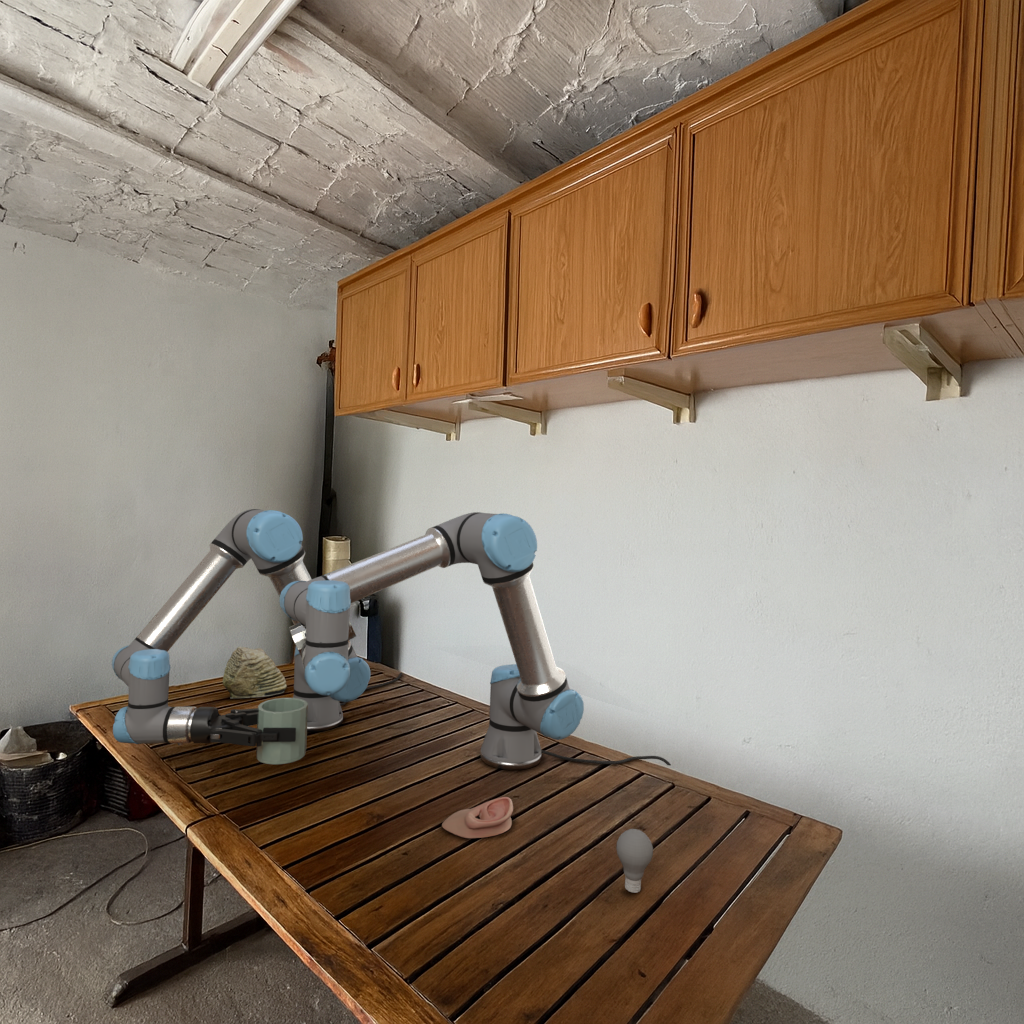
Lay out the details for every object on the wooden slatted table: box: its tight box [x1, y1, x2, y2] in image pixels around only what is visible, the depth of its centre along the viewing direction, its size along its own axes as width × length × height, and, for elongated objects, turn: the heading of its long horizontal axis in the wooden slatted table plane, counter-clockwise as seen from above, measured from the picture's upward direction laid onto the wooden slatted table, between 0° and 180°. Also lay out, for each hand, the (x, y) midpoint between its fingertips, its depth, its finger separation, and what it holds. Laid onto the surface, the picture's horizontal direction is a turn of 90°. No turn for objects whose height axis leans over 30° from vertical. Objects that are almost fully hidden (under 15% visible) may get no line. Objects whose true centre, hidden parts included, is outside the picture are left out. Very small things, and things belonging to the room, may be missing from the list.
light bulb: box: [615, 828, 654, 894], centre depth 106 cm, size 6×6×10 cm
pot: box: [255, 697, 308, 765], centre depth 139 cm, size 10×10×11 cm
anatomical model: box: [441, 796, 514, 839], centre depth 125 cm, size 13×4×12 cm
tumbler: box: [288, 619, 357, 657], centre depth 141 cm, size 8×8×12 cm
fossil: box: [222, 646, 288, 699], centre depth 198 cm, size 9×18×15 cm, turn 132°
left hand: (301, 725), depth 139 cm, fingers closed on pot, 10 cm apart
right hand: (314, 630), depth 145 cm, fingers closed on tumbler, 8 cm apart
